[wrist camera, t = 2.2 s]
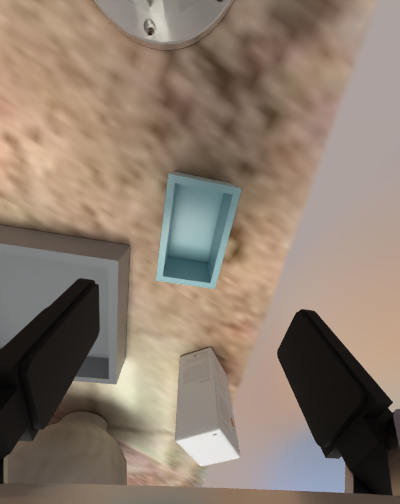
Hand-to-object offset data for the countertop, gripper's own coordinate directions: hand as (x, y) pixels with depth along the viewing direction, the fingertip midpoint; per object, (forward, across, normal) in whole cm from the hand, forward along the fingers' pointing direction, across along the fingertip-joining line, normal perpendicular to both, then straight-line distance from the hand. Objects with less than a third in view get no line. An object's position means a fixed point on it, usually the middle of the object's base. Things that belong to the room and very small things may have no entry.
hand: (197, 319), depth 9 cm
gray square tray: (+14, +17, +13) cm, 26 cm away
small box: (+15, -6, +23) cm, 28 cm away
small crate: (+14, 0, -1) cm, 14 cm away
